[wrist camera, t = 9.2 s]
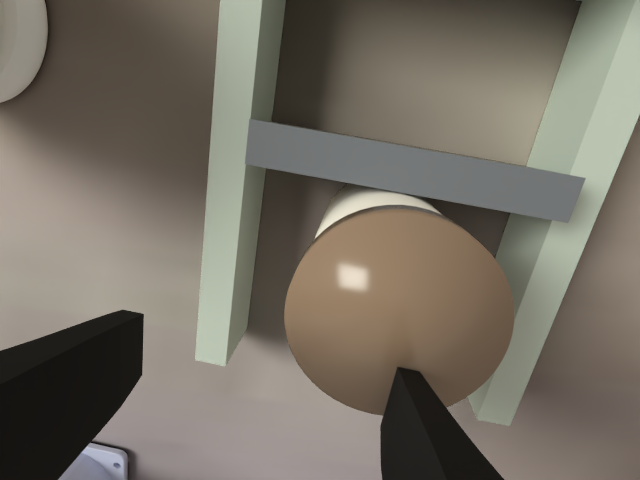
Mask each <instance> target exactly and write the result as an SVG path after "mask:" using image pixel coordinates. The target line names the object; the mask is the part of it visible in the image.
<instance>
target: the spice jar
mask: <svg viewBox="0 0 640 480" xmlns="http://www.w3.org/2000/svg"><path fill="white" fill-rule="evenodd" d="M284 321H285V331H286V335H287V340H288V343H289V346H290V349H291V351H292V354H293V355H294V357H295V359H296V361H297V363H298V365H299V366H300V367H301V369H302V370H303V372H304V373H305V374H306V376H307V377H308V378H309V379H310V380H311V381H312V382H313V383H314V384H315V385H316V386H317V387H318V388H320V389H321V390H322V391H323V392H324V393H326V394H327V395H329V396H330V397H332V398H333V399H335V400H337V401H339V402H341V403H343V404H345V405H347V406H349V407H352V408H354V409H357V410H360V411H364V412H367V413H371V414H377V415H383V416H384V412H385V409H386V405H387V402H388V398H389V394H390V391H391V387H392V384H393V380H394V377H395V373H396V369H397V367H401V368H406V369H410V370H415V371H420V373H421V374H422V375H423V377H424V378H425V379H426V381H427V382H428V383H429V385H430V386H431V388H432V389H433V390H434V392H435V393H436V395H437V396H438V397H439V399H440V400H441V402H442V403H443V404H444V406H445V407H448V406H451V405H453V404H455V403H457V402H459V401H461V400H463V399H464V398H466V397H467V396H469V395H470V394H472V393H473V392H475V391H476V390H477V389H478V388H479V387H481V386H482V385H483V384H484V383H485V382H486V381H487V380H488V379H489V378H490V377H491V375H492V374H493V373H494V372H495V371H496V369H497V368H498V366H499V365H500V363H501V362H502V360H503V358H504V356H505V354H506V352H507V350H508V347H509V344H510V341H511V338H512V334H513V327H514V302H513V296H512V292H511V289H510V286H509V283H508V280H507V278H506V276H505V274H504V272H503V270H502V268H501V267H500V265H499V264H498V262H497V261H496V260H495V258H494V257H493V256H492V254H491V253H490V252H489V251H488V250H487V249H486V248H485V247H484V246H483V245H482V244H481V243H480V242H479V241H477V240H476V239H475V238H474V237H473V236H472V235H471V234H470V233H469V232H467V231H466V230H465V229H464V228H462V227H461V226H460V225H458V224H457V223H456V222H454V221H452V220H451V219H449V218H447V217H445V216H444V215H442V214H441V213H439V212H438V211H437V210H436V209H435V208H434V207H433V206H432V205H431V204H430V203H429V202H428V201H427V200H426V199H425V198H424V197H422V196H417V195H411V194H406V193H400V192H395V191H389V190H384V189H378V188H373V187H367V186H362V185H356V184H351V183H349V184H347V185H346V186H344V187H343V188H342V189H341V190H340V191H339V192H338V193H337V194H336V195H335V196H334V197H333V198H332V200H331V201H330V203H329V205H328V207H327V209H326V211H325V214H324V216H323V219H322V222H321V224H320V227H319V229H318V232H317V234H316V237H315V239H314V241H313V242H312V243H311V245H310V246H309V247H308V248H307V250H306V252H305V253H304V255H303V257H302V259H301V260H300V263H299V265H298V267H297V269H296V272H295V274H294V276H293V279H292V281H291V284H290V286H289V289H288V293H287V297H286V301H285V311H284Z"/></svg>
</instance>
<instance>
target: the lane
mask: <svg viewBox="0 0 640 480" xmlns="http://www.w3.org/2000/svg"><path fill="white" fill-rule="evenodd" d="M577 1H582V3H581V6H580V9H579V12H578V15H577V18H576V21H575V24H574V26H573V29H572V32H571V35H570V38H569V41H568V44H567V47H566V50H565V53H564V56H563V59H562V62H561V65H560V68H559V71H558V74H557V77H556V80H555V83H554V86H553V88H552V91H551V94H550V97H549V100H548V103H547V106H546V109H545V112H544V115H543V118H542V121H541V124H540V127H539V130H538V133H537V136H536V139H535V142H534V145H533V148H532V150H531V153H530V156H529V159H528V162H527V165H526V166H527V167H532V168H537V169H542V170H547V171H553V172H558V173H563V174H568V175H573V176H578V177H583V178H586V179H585V182H584V184H583V187H582V189H581V192H580V194H579V197H578V200H577V202H576V205H575V207H574V210H573V212H572V215H571V217H570V220H569V222H568V223H565V222H559V221H554V220H548V219H543V218H538V217H532V216H527V215H521V214H516V213H510V215H509V218H508V221H507V224H506V227H505V230H504V233H503V236H502V239H501V242H500V245H499V248H498V251H497V254H496V257H495V260H496V261H497V262H498V264H499V265H500V267H501V268H502V270H503V272H504V274H505V276H506V278H507V280H508V283H509V286H510V289H511V292H512V296H513V302H514V327H513V334H512V338H511V341H510V344H509V347H508V350H507V352H506V354H505V356H504V358H503V360H502V362H501V363H500V365H499V366H498V368H497V369H496V371H495V372H494V373H493V374H492V375H491V377H490V378H489V379H488V380H487V381H486V382H485V383H484V384H483V385H482V386H481V387H479V388H478V389H477V390H476V391H475V392H473V393H472V394H470V395H469V396H467V397H468V399H469V402H470V404H471V406H472V409H473V411H474V414H475V416H476V419H477V420H481V421H486V422H491V423H495V424H500V425H505V426H510V425H511V422H512V420H513V417H514V415H515V413H516V410H517V408H518V405H519V403H520V401H521V398H522V396H523V393H524V391H525V389H526V386H527V384H528V381H529V379H530V377H531V374H532V372H533V369H534V367H535V365H536V362H537V360H538V357H539V355H540V353H541V350H542V348H543V345H544V343H545V341H546V338H547V336H548V333H549V331H550V329H551V326H552V324H553V321H554V319H555V317H556V314H557V312H558V309H559V307H560V305H561V302H562V300H563V297H564V295H565V293H566V290H567V288H568V285H569V283H570V281H571V278H572V276H573V273H574V271H575V269H576V266H577V264H578V261H579V259H580V257H581V254H582V252H583V249H584V247H585V245H586V242H587V240H588V237H589V235H590V232H591V230H592V228H593V225H594V223H595V220H596V218H597V216H598V213H599V211H600V208H601V206H602V204H603V201H604V199H605V196H606V194H607V192H608V189H609V187H610V184H611V182H612V180H613V177H614V175H615V172H616V170H617V168H618V165H619V163H620V160H621V158H622V156H623V153H624V151H625V148H626V146H627V144H628V141H629V139H630V136H631V134H632V132H633V129H634V127H635V124H636V122H637V120H638V117H639V115H640V0H577ZM285 5H286V0H220V10H219V24H218V38H217V53H216V67H215V81H214V96H213V110H212V125H211V139H210V153H209V168H208V182H207V196H206V211H205V225H204V239H203V254H202V268H201V282H200V297H199V311H198V325H197V340H196V354H195V360H197V361H202V362H207V363H212V364H216V365H221V366H226V364H227V363H228V361H229V359H230V357H231V356H232V354H233V352H234V350H235V349H236V347H237V345H238V343H239V342H240V340H241V338H242V336H243V334H244V333H245V331H246V329H247V325H248V317H249V308H250V300H251V291H252V283H253V274H254V266H255V258H256V249H257V241H258V232H259V224H260V215H261V207H262V199H263V190H264V182H265V173H266V168H263V167H258V166H252V165H247V164H245V157H246V147H247V137H248V127H249V119H254V120H261V121H269V122H272V114H273V106H274V97H275V89H276V81H277V72H278V64H279V55H280V47H281V38H282V30H283V22H284V13H285Z"/></svg>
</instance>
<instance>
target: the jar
mask: <svg viewBox="0 0 640 480" xmlns="http://www.w3.org/2000/svg"><path fill="white" fill-rule="evenodd" d="M47 35H48V22H47V10H46V5H45V0H0V103H1V102H4V101H7V100H9V99H12V98H13V97H15V96H17V95H18V94H20V93H21V92H22V91H23V90H24V89H25V88H26V87H27V86H28V85H29V84H30V83H31V82H32V81H33V79H34V78H35V76H36V74H37V72H38V70H39V69H40V66H41V64H42V61H43V58H44V54H45V50H46V44H47Z"/></svg>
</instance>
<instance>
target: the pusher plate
mask: <svg viewBox="0 0 640 480" xmlns="http://www.w3.org/2000/svg"><path fill="white" fill-rule="evenodd" d="M245 164H247V165H252V166H258V167H263V168H269V169H274V170H279V171H285V172H290V173H296V174H301V175H307V176H312V177H318V178H323V179H329V180H334V181H340V182H345V183H351V184H356V185H362V186H367V187H373V188H378V189H384V190H389V191H395V192H400V193H406V194H411V195H417V196H422V197H428V198H433V199H439V200H444V201H450V202H455V203H461V204H466V205H472V206H477V207H483V208H488V209H494V210H499V211H505V212H510V213H516V214H521V215H527V216H532V217H538V218H543V219H548V220H554V221H559V222H565V223H568V222H569V220H570V217H571V215H572V212H573V210H574V207H575V205H576V202H577V200H578V197H579V194H580V192H581V189H582V187H583V184H584V182H585V179H586V178H583V177H578V176H573V175H568V174H563V173H558V172H553V171H547V170H542V169H537V168H532V167H527V166H522V165H517V164H511V163H505V162H499V161H494V160H488V159H482V158H477V157H471V156H465V155H460V154H454V153H448V152H442V151H437V150H431V149H425V148H420V147H414V146H408V145H403V144H397V143H391V142H385V141H380V140H374V139H368V138H363V137H357V136H351V135H346V134H340V133H334V132H328V131H323V130H317V129H311V128H306V127H300V126H294V125H289V124H283V123H276V122H269V121H261V120H254V119H249V127H248V137H247V147H246V157H245Z"/></svg>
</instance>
